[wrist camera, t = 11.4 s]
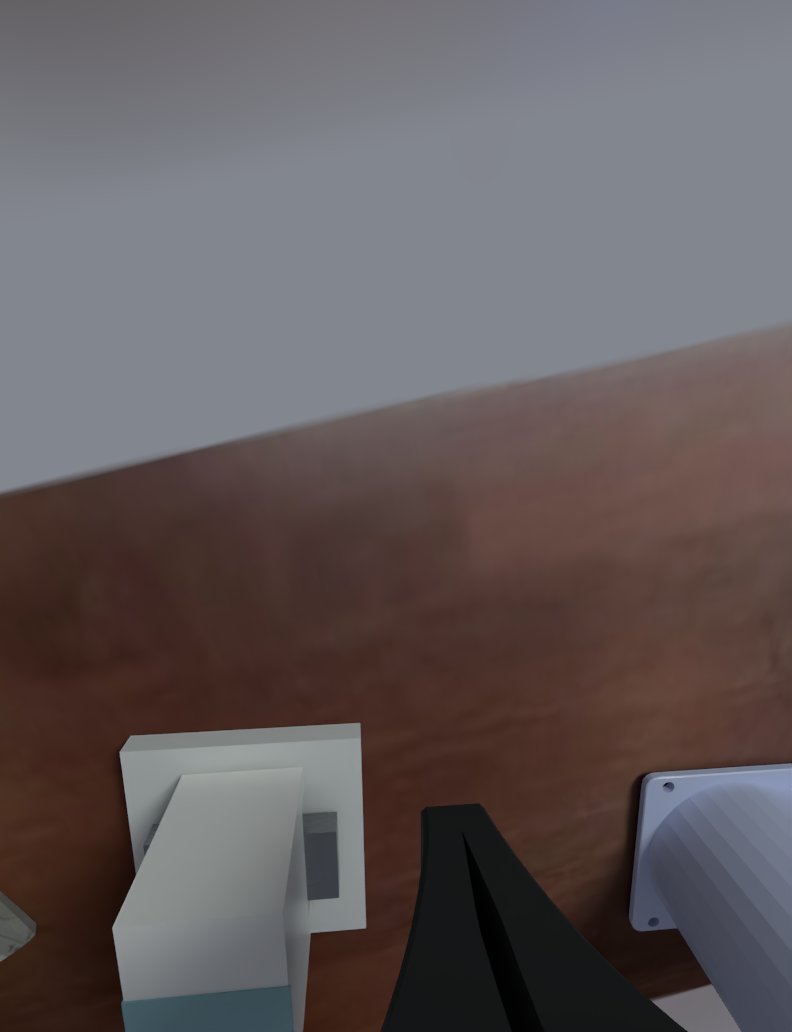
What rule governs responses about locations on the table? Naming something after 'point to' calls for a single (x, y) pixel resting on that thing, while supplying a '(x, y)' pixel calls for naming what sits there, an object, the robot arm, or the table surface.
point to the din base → (316, 748)
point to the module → (220, 910)
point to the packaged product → (13, 927)
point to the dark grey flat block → (312, 854)
